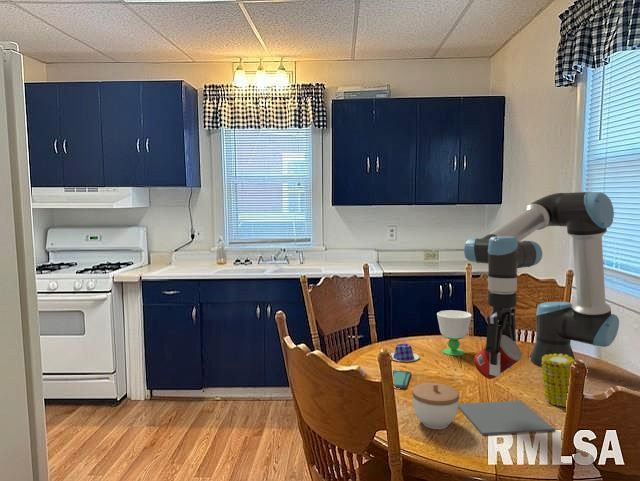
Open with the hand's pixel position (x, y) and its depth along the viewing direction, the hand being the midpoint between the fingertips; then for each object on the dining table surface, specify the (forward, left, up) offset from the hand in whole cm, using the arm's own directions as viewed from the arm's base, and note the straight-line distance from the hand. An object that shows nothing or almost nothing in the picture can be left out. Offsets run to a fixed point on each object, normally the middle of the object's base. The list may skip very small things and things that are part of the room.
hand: (500, 371), depth 132 cm
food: (-22, -7, -14) cm, 27 cm away
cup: (-8, -57, -13) cm, 59 cm away
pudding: (+14, -53, -14) cm, 57 cm away
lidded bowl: (+20, +2, -14) cm, 24 cm away
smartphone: (+22, -30, -14) cm, 40 cm away
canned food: (+3, -4, 0) cm, 5 cm away
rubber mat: (0, +1, -13) cm, 13 cm away
